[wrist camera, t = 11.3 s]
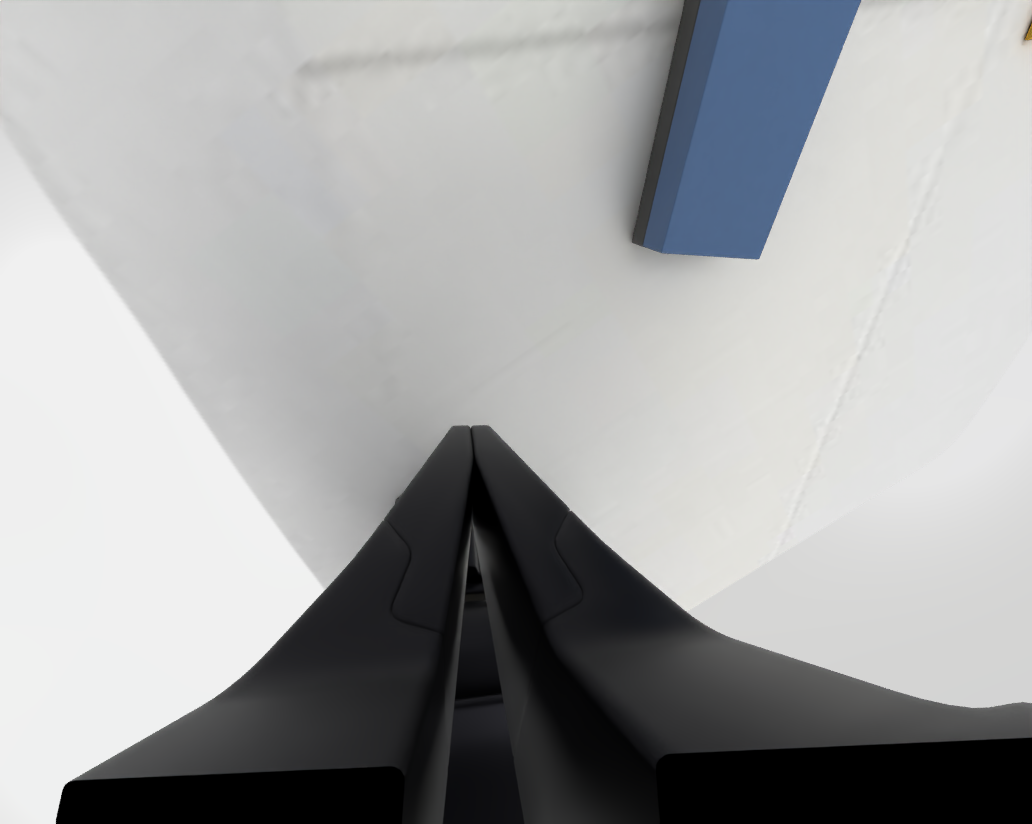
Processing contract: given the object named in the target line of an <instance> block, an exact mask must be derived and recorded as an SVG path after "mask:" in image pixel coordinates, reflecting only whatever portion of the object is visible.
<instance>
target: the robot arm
mask: <svg viewBox="0 0 1032 824" xmlns="http://www.w3.org/2000/svg"><path fill="white" fill-rule="evenodd" d="M56 824H1032V703H1024V702H1021V703H1012V704H1006V705H1002V706H995V707H990V708H968V707H960V706H953V705H947V704H942V703H937V702H933V701H929V700H924V699H919V698H916V697H913V696H910V695H906V694H903V693H899V692H896V691H893V690H890V689H886V688H883V687H880V686H877V685H874V684H871V683H868V682H865V681H862V680H859V679H856V678H852V677H849V676H846V675H843V674H840V673H837V672H834V671H831V670H828V669H825V668H822V667H819V666H816V665H812V664H809V663H806V662H803V661H800V660H797V659H794V658H791V657H788V656H785V655H782V654H779V653H775V652H772V651H769V650H766V649H763V648H760V647H757V646H754V645H751V644H747V643H745V642H741V641H739V640H735V639H733V638H730V637H728V636H725V635H723V634H721V633H718V632H717V631H715V630H713V629H711V628H710V627H708V626H706V625H704V624H703V623H701V622H700V621H698V620H697V619H695V618H694V617H692V616H691V615H690V614H688V613H687V612H686V611H685V610H683V609H682V608H681V607H680V606H678V605H677V604H676V603H675V602H674V601H672V600H671V599H670V598H669V597H668V596H666V595H665V594H664V593H663V592H662V591H660V590H659V589H658V588H657V587H656V586H654V585H653V584H652V583H651V582H650V581H649V580H647V579H646V578H645V577H644V576H643V575H641V574H640V573H639V572H638V571H637V570H635V569H634V568H633V567H632V566H631V565H629V564H628V563H627V562H626V561H625V560H623V559H622V558H621V557H620V556H619V555H618V554H617V553H615V552H614V551H613V550H612V549H611V548H610V547H609V546H607V545H606V544H605V543H604V542H603V541H602V540H601V539H600V538H599V537H598V536H597V535H595V534H594V533H593V532H592V531H591V530H590V529H589V528H588V527H587V526H586V525H585V524H584V523H583V522H582V521H581V520H580V519H579V518H578V517H577V516H576V515H575V514H574V513H573V512H572V511H570V509H569V508H568V507H567V506H566V505H565V504H564V502H563V501H562V500H561V499H560V498H559V497H558V496H557V495H556V494H555V493H554V492H553V491H552V490H551V489H550V488H549V487H548V486H547V485H546V484H545V483H544V482H543V481H542V480H541V479H540V478H539V477H538V476H537V475H536V474H535V473H534V472H533V471H532V469H531V468H530V467H529V466H528V465H527V464H526V463H525V462H524V461H523V460H522V459H521V458H520V457H519V456H518V455H517V454H516V453H515V452H514V451H513V450H512V449H511V448H510V447H509V446H508V445H507V444H506V443H505V442H504V441H503V440H502V439H501V438H500V436H499V435H498V434H497V433H496V432H495V431H494V430H493V429H492V428H491V427H490V426H487V425H479V426H472V427H471V428H470V427H469V426H452V427H451V428H450V430H449V431H448V433H447V434H446V435H445V437H444V438H443V439H442V441H441V442H440V443H439V445H438V446H437V448H436V449H435V450H434V452H433V453H432V454H431V456H430V457H429V458H428V460H427V461H426V463H425V464H424V465H423V467H422V468H421V469H420V471H419V472H418V473H417V475H416V476H415V478H414V479H413V480H412V482H411V483H410V484H409V486H408V487H407V488H406V490H405V491H404V492H403V494H402V495H401V497H400V498H398V499H397V500H396V501H395V505H394V506H393V507H392V509H391V510H390V512H389V513H388V514H387V516H386V517H385V519H384V521H382V522H381V523H380V525H379V526H378V528H377V529H376V530H375V532H374V533H373V535H372V536H371V537H370V538H369V540H368V541H367V542H366V543H365V545H364V546H363V547H362V549H361V550H360V551H359V552H358V554H357V555H356V556H355V557H354V559H353V560H352V561H351V562H350V563H349V564H348V565H347V566H346V568H345V569H344V570H343V571H342V572H341V573H340V574H339V575H338V577H337V578H336V579H335V580H334V581H333V582H332V583H331V584H330V585H329V587H328V588H327V589H326V590H325V591H324V592H323V593H322V594H321V595H320V596H319V597H318V598H317V599H316V601H315V602H314V603H313V604H312V605H311V606H310V607H309V608H308V609H307V610H306V611H305V612H304V613H303V615H302V616H301V617H300V618H299V619H298V620H297V621H296V622H295V623H294V624H293V625H292V627H290V628H289V630H288V631H287V632H286V633H285V634H284V635H283V636H282V637H281V638H280V639H279V640H278V641H277V643H276V644H275V645H274V646H273V647H272V648H271V649H270V650H269V651H268V652H267V653H266V654H265V655H264V656H263V657H262V658H261V659H260V660H259V661H258V662H257V663H256V664H255V665H254V666H253V667H252V668H251V669H250V670H249V671H248V672H247V673H246V674H244V675H243V676H242V677H241V678H240V679H239V680H237V681H236V682H235V683H234V684H232V685H231V686H230V687H229V688H227V689H226V690H225V691H223V692H222V693H221V694H219V695H218V696H216V697H215V698H214V699H212V700H210V701H209V702H207V703H206V704H204V705H202V706H201V707H199V708H197V709H196V710H194V711H192V712H190V713H188V714H187V715H185V716H183V717H181V718H180V719H178V720H176V721H174V722H173V723H171V724H169V725H168V726H166V727H164V728H162V729H161V730H159V731H157V732H155V733H153V734H152V735H150V736H148V737H147V738H145V739H143V740H141V741H140V742H138V743H136V744H134V745H133V746H131V747H129V748H128V749H126V750H124V751H122V752H121V753H119V754H117V755H115V756H113V757H112V758H110V759H108V760H106V761H105V762H103V763H101V764H99V765H98V766H96V767H94V768H92V769H91V770H89V771H87V772H85V773H84V774H82V775H80V776H79V777H77V778H75V779H73V780H72V781H70V782H68V783H67V784H66V785H65V786H64V788H63V791H62V795H61V799H60V804H59V809H58V813H57V818H56Z"/></svg>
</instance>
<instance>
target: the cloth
mask: <svg viewBox="0 0 1032 824" xmlns="http://www.w3.org/2000/svg"><path fill="white" fill-rule="evenodd" d="M1031 39H1032V24H1031V26H1030V29H1029V31H1028V33H1027V36H1026V38H1025V40H1031Z"/></svg>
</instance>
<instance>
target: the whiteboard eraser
mask: <svg viewBox="0 0 1032 824" xmlns="http://www.w3.org/2000/svg"><path fill="white" fill-rule="evenodd" d="M860 2H861V0H685V4H684V9H683V13H682V18H681V22H680V27H679V31H678V36H677V40H676V45H675V49H674V54H673V58H672V63H671V67H670V72H669V76H668V81H667V85H666V90H665V94H664V99H663V103H662V108H661V113H660V117H659V122H658V126H657V131H656V135H655V140H654V144H653V149H652V153H651V158H650V162H649V167H648V171H647V176H646V180H645V185H644V189H643V194H642V198H641V203H640V208H639V212H638V217H637V221H636V226H635V230H634V235H633V239H632V243H635V244H638V245H640V246H644V247H646V248H649V249H652V250H654V251H657V252H660V253H667V254H682V255H698V256H713V257H728V258H744V259H759V258H760V256H761V253H762V250H763V248H764V245H765V243H766V240H767V238H768V235H769V233H770V230H771V228H772V225H773V223H774V220H775V218H776V215H777V212H778V210H779V207H780V205H781V202H782V200H783V197H784V195H785V192H786V190H787V187H788V185H789V182H790V180H791V177H792V174H793V172H794V169H795V167H796V164H797V162H798V159H799V157H800V154H801V152H802V149H803V147H804V144H805V142H806V139H807V136H808V134H809V131H810V129H811V126H812V124H813V121H814V119H815V116H816V114H817V111H818V109H819V106H820V103H821V101H822V98H823V96H824V93H825V91H826V88H827V86H828V83H829V81H830V78H831V76H832V73H833V71H834V68H835V65H836V63H837V60H838V58H839V55H840V53H841V50H842V48H843V45H844V43H845V40H846V38H847V35H848V33H849V30H850V27H851V25H852V22H853V20H854V17H855V15H856V12H857V10H858V7H859V5H860Z"/></svg>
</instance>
